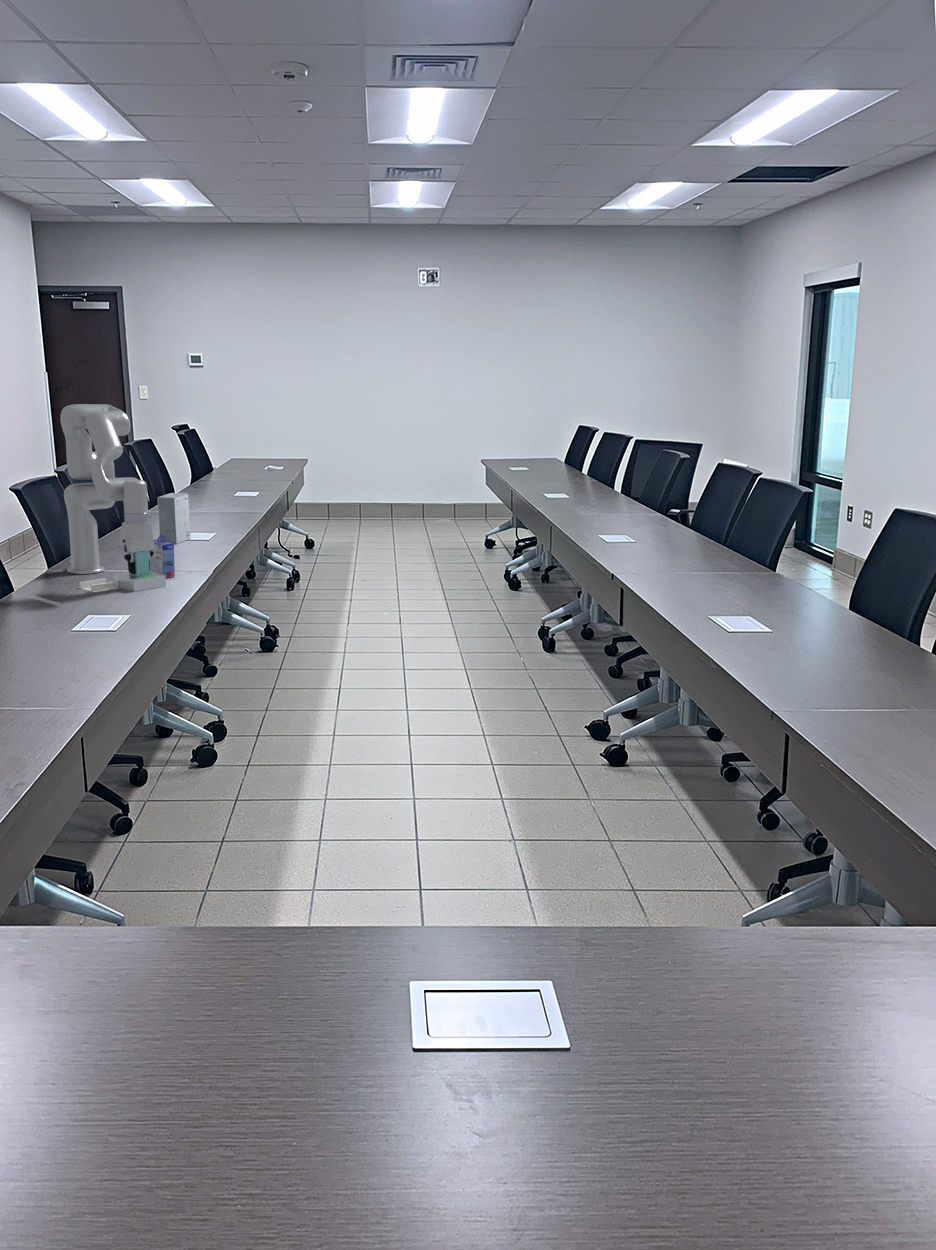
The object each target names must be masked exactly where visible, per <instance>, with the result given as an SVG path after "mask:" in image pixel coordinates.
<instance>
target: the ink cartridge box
mask: <svg viewBox="0 0 936 1250" xmlns="http://www.w3.org/2000/svg"><path fill="white" fill-rule="evenodd" d="M161 537H162V538H164V539H163V540H161V539H160V538H161ZM165 538H166V536H162V535H160V534H159V535H158V537H157V540H154V544H155V545H156V547H157V548H158V550H157V551H156V552H155V553H154V554H153V556H152V557H151V560H149V562H150V569H149V571H151V572H155V573H160V574H164V575H165V576H166V579H169V578H168V577H172V578H175V577H174V576H175V575H176V573H175V572H176V571H175V570H176V569H175V544H173V543H167V542H164V540H165Z"/></svg>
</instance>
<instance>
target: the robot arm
mask: <svg viewBox="0 0 936 1250" xmlns="http://www.w3.org/2000/svg"><path fill="white" fill-rule="evenodd" d="M60 425H61V429H62V432H63V434H64V438H65V448H66V449H65V451H66V453H65V454H66V468H67V473H68V475H69V477H70V478H71V479H73V480H78V481H79V480H81V481H82V480H92V482H80V483H79V482H78V483H73V484H70V485H68V486H66V488H65V489H64V491H63V498H64V503H65V506H66V507H65V508H66V512H67V518H68V519H67V520H68V532H69V533H68V534H69V543H70V546H69V548H70V559H69V560H68V562H69V563H70V564H71V566H70V567H67V568H66V569H67V570H66V571H67V573H68V574H69V573H70V574H74V575H88V574H89V575H90V574H97V573H103V572H104V571H105V567H104V566H102V565H100V550H99V548H100V547H99V534H98V521H97V520H96V518H95V517H94V515H92V513H91V512H90V511H92V510H104V509H110V508H112V507H113V506H114V504H115V503H116V502H119V501H120V502H122V501H123V512H124V513H123V514H124V515H123V516H124V522H123V521H122V523H121V528H120V548H119V549H118V551H117V554H118V555H119V556H120V557H122V558H123V559H124V560H126V562H127V569H128V572H129V573H131V574H136V569H135V562H134V556H135V552H143V551H148V558H149V560H151V557H152V556H153V554H154V553H155V552H156V551H157V550H158V548H157V547H156V545H155V544H154V541H155V539H154V532H153V527H152V524H151V521H149V519H150V518H152V514H151V513H150V512H149V504H148V486H147V482H146V481H145V480H142V479H138V478H136V477H130V476H129V477H126V476H125V477H116V476H115V473H116V472H115V463H114V461H116V460H117V459H119V458H120V457H121V456H122V454H123V452H124V449H123V446H122V443H121V441H120V437H124V436H128V435H129V433H130V432H131V428H132V427H131V421H130V419H129V416H128V415H127V413H125V412H124V411H123V410H121V409H119V408H117V407H115V406H113V405H111V404H104V403H103V404H101V403H98V404H97V403H96V404H95V403H94V404H92V403H91V404H90V403H89V404H88V403H84V404H83V403H80V404H79V403H77V404H75V403H74V404H70V405H67V406H64V407H63V408H62V410H61V412H60ZM87 431H88V432H87ZM93 448H94V450H95V451H93ZM149 569H150V562H149Z"/></svg>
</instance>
